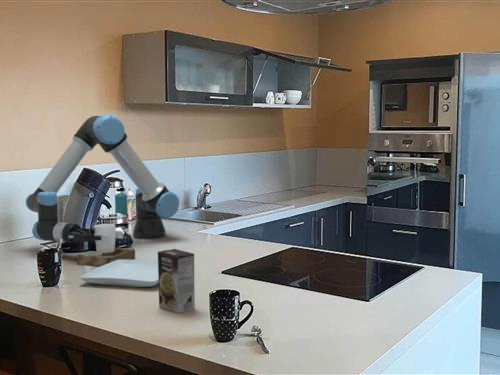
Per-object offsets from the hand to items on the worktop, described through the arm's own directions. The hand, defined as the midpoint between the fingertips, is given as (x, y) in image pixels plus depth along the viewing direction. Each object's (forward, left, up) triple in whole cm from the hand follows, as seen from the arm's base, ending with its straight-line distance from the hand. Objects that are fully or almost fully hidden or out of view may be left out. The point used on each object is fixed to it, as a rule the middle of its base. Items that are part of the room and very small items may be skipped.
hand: (115, 236), depth 225 cm
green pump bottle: (-8, -87, -10) cm, 88 cm away
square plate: (-4, +26, -10) cm, 28 cm away
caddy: (+4, -3, -10) cm, 11 cm away
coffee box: (-12, +64, -10) cm, 66 cm away
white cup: (+4, -3, -6) cm, 8 cm away
